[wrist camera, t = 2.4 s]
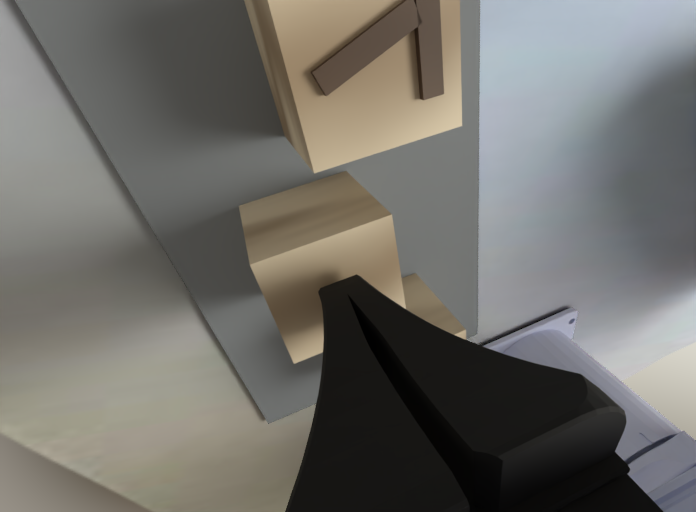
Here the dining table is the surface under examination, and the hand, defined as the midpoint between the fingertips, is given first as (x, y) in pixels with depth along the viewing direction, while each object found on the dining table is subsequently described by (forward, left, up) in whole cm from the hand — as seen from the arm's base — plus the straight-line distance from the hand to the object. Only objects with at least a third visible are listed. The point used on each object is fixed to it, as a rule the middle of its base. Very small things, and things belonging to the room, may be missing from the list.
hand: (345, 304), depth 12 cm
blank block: (0, 0, -5) cm, 5 cm away
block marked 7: (+7, -2, -5) cm, 9 cm away
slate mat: (0, -1, -5) cm, 6 cm away
